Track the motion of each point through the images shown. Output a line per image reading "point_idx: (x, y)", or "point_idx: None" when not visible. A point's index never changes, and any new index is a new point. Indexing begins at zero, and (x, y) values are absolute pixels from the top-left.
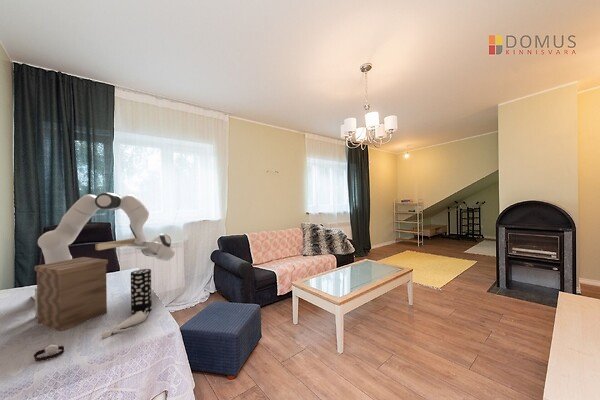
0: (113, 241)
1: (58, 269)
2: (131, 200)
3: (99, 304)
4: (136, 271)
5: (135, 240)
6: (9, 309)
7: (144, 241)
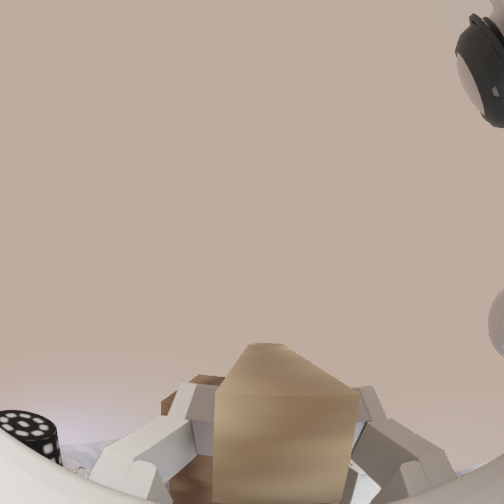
0: (282, 350)
1: (211, 376)
2: None
3: None
4: (40, 429)
5: (183, 393)
6: (461, 472)
7: (68, 470)
